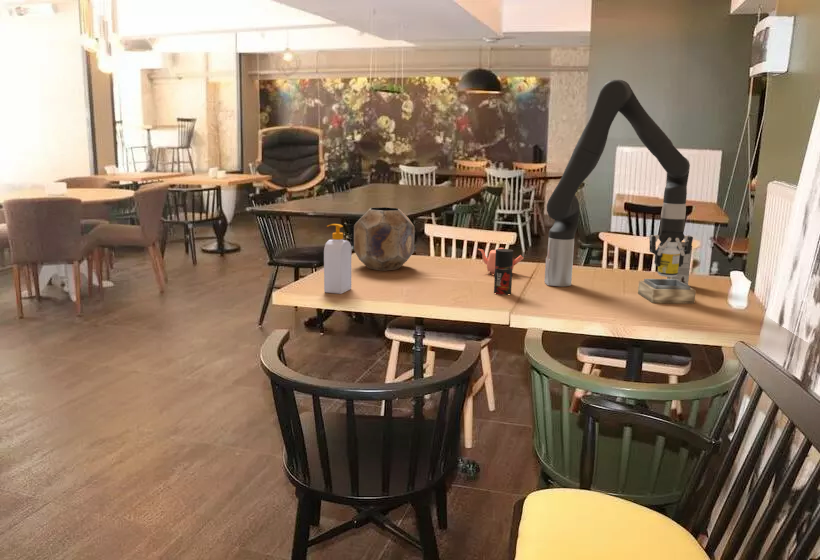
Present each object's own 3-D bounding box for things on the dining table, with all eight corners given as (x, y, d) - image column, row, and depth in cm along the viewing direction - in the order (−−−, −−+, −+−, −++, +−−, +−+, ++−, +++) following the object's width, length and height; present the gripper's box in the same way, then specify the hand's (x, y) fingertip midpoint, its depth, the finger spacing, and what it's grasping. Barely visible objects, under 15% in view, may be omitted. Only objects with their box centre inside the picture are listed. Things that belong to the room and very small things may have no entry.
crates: (652, 302, 224) (653, 286, 223) (637, 293, 238) (639, 277, 237) (694, 303, 225) (696, 287, 224) (677, 293, 238) (679, 278, 237)
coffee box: (665, 283, 256) (670, 241, 253) (683, 284, 255) (688, 241, 252) (669, 288, 247) (674, 244, 244) (688, 289, 246) (693, 245, 243)
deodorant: (512, 292, 236) (514, 249, 233) (509, 295, 231) (511, 252, 228) (495, 290, 238) (497, 248, 235) (492, 294, 233) (494, 250, 229)
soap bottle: (333, 287, 239) (333, 222, 234) (351, 288, 237) (351, 223, 232) (322, 292, 230) (321, 225, 226) (340, 294, 228) (340, 226, 223)
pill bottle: (654, 273, 233) (657, 239, 230) (672, 273, 233) (675, 240, 231) (662, 277, 226) (665, 242, 224) (681, 277, 227) (684, 242, 224)
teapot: (506, 269, 277) (507, 244, 275) (523, 274, 267) (525, 249, 265) (476, 272, 271) (477, 246, 268) (493, 277, 260) (494, 251, 258)
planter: (413, 273, 265) (414, 212, 260) (351, 272, 265) (351, 211, 260) (413, 263, 286) (415, 206, 282) (356, 261, 287) (356, 205, 282)
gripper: (655, 217, 222) (651, 268, 225) (699, 218, 222) (694, 268, 225) (647, 215, 229) (643, 263, 233) (689, 215, 229) (685, 264, 233)
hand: (668, 266), depth 229 cm, fingers closed on pill bottle, 6 cm apart
